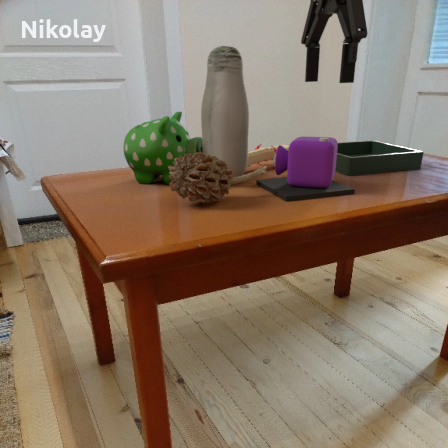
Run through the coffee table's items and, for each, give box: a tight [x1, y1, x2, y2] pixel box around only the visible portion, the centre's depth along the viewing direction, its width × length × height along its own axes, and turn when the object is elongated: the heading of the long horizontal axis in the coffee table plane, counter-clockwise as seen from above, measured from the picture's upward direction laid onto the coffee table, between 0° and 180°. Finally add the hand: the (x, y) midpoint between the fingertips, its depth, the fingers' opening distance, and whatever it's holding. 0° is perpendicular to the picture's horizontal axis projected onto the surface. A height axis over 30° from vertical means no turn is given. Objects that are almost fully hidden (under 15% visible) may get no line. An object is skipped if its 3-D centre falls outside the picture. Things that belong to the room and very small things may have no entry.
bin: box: [335, 139, 425, 177], centre depth 119 cm, size 22×22×4 cm
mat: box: [255, 176, 356, 202], centre depth 97 cm, size 16×16×1 cm
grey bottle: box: [200, 45, 250, 178], centre depth 97 cm, size 10×10×28 cm
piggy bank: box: [123, 111, 203, 185], centre depth 103 cm, size 14×18×15 cm
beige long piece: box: [246, 143, 290, 170], centre depth 115 cm, size 10×9×25 cm
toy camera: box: [272, 136, 339, 188], centre depth 95 cm, size 11×14×10 cm
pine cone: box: [168, 152, 270, 204], centre depth 88 cm, size 22×10×10 cm, turn 120°
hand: (327, 82), depth 90 cm, fingers open, 13 cm apart
